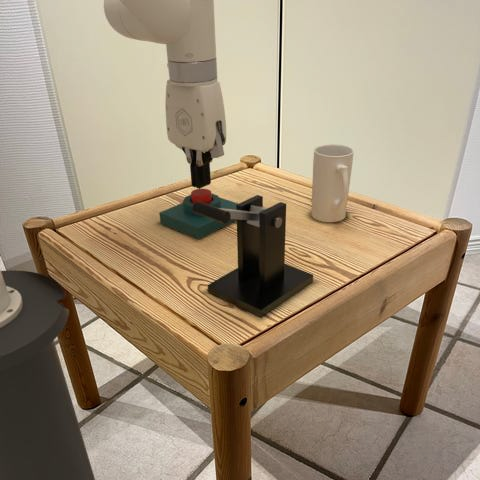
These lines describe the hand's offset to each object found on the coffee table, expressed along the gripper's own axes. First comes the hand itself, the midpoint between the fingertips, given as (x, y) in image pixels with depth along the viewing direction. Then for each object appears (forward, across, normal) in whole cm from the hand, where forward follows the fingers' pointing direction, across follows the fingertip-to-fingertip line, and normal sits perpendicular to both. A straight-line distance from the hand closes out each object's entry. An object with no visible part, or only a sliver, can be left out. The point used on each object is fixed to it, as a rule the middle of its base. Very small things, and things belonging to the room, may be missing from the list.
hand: (201, 185), depth 90 cm
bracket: (+7, +23, -11) cm, 26 cm away
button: (+3, 0, 0) cm, 3 cm away
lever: (-5, +23, -16) cm, 28 cm away
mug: (+7, +18, +15) cm, 24 cm away
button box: (+7, 0, 0) cm, 7 cm away
